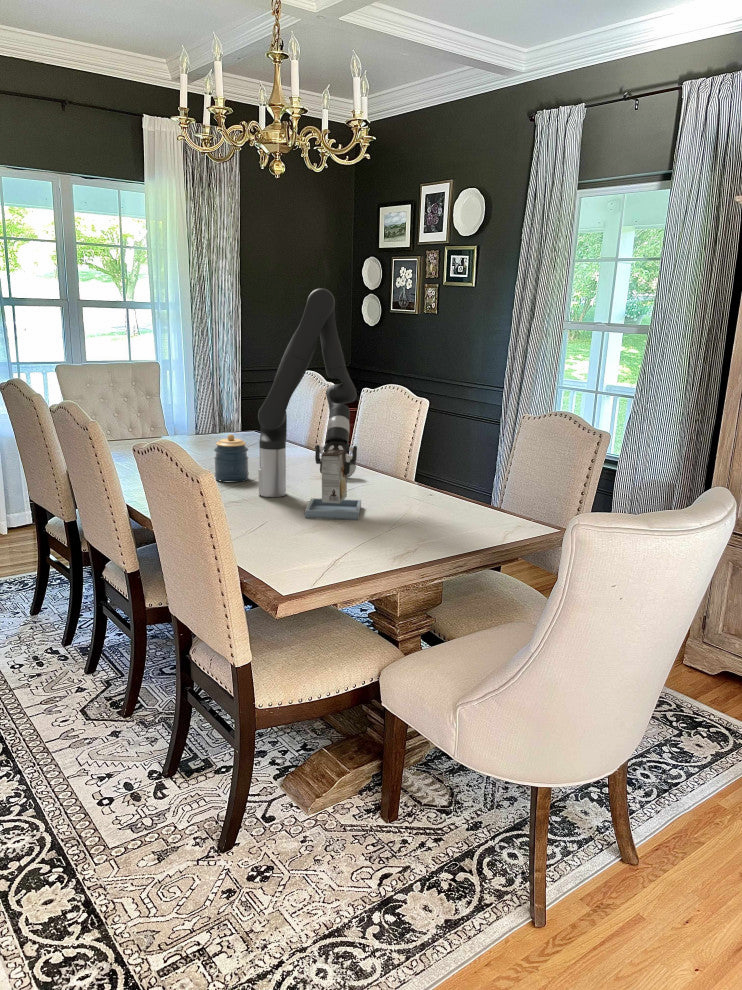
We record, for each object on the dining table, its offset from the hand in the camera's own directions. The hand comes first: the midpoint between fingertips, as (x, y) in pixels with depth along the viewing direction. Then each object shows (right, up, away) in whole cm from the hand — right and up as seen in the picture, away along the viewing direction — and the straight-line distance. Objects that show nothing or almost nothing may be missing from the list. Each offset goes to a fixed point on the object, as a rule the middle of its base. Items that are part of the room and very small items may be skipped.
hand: (334, 473), depth 244 cm
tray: (0, -13, +4) cm, 13 cm away
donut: (+1, -1, +53) cm, 53 cm away
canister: (-42, -1, +47) cm, 63 cm away
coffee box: (0, -9, +3) cm, 9 cm away
